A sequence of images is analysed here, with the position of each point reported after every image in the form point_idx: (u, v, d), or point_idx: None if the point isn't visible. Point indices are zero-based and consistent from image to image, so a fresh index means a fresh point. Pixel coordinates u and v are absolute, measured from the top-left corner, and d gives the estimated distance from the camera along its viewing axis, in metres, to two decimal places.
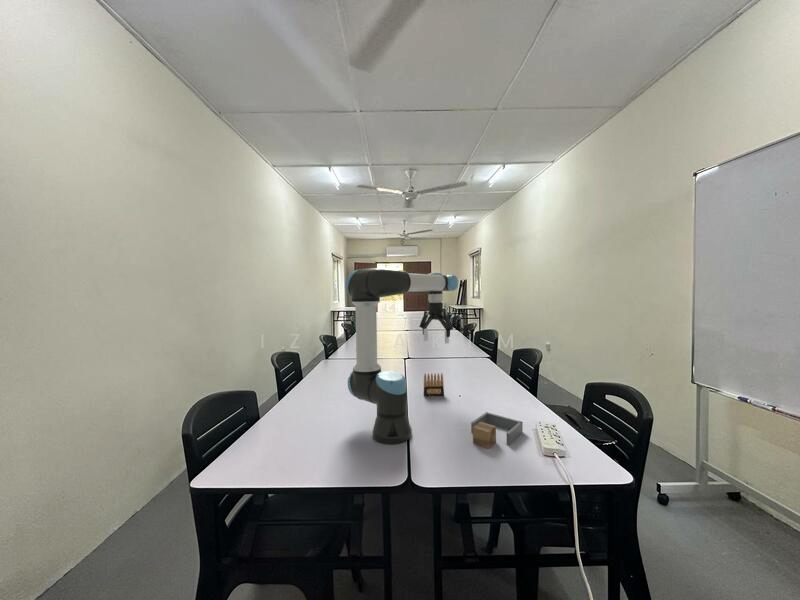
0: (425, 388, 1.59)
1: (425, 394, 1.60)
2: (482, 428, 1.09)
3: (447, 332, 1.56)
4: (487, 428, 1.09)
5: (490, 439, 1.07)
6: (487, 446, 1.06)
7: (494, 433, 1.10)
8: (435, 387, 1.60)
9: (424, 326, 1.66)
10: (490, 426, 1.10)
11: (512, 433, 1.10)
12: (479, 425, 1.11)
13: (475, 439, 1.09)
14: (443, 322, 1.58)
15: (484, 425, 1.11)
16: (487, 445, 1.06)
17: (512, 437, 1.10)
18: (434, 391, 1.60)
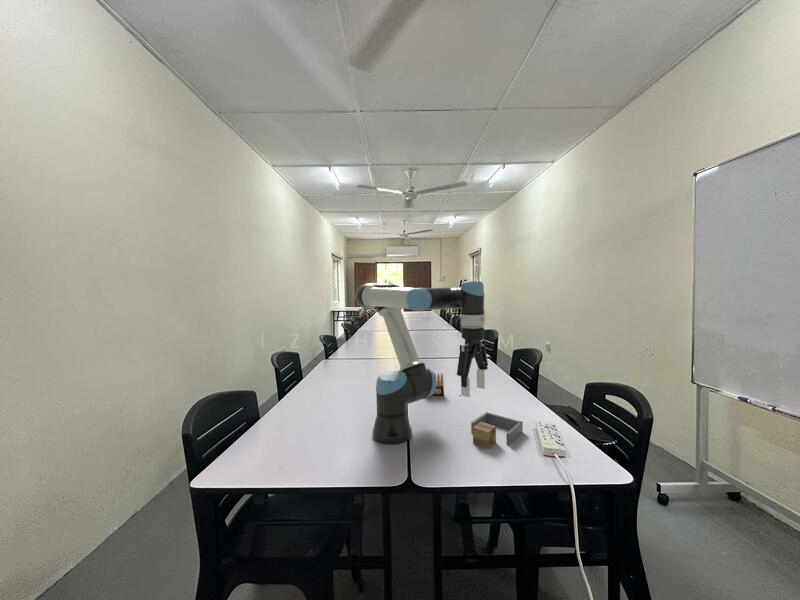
0: None
1: None
2: (482, 428, 1.09)
3: None
4: (487, 428, 1.09)
5: (490, 439, 1.07)
6: (487, 446, 1.06)
7: (494, 433, 1.10)
8: None
9: None
10: (490, 426, 1.10)
11: (512, 433, 1.10)
12: (479, 425, 1.11)
13: (475, 439, 1.09)
14: None
15: (484, 425, 1.11)
16: (487, 445, 1.06)
17: (512, 437, 1.10)
18: None
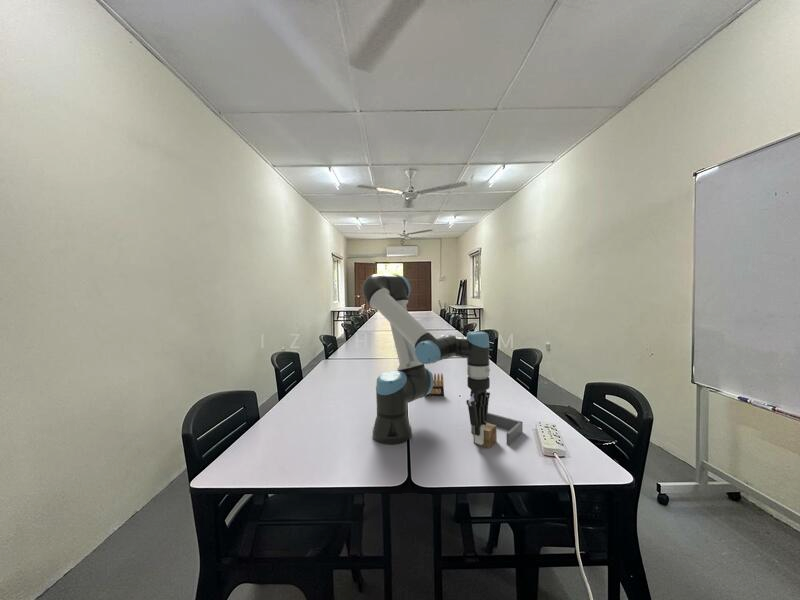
0: None
1: None
2: None
3: None
4: (487, 427, 1.09)
5: (491, 438, 1.07)
6: (488, 445, 1.07)
7: (495, 432, 1.10)
8: (435, 387, 1.60)
9: None
10: (491, 425, 1.11)
11: (512, 433, 1.10)
12: None
13: None
14: None
15: (485, 425, 1.11)
16: (488, 444, 1.07)
17: (512, 437, 1.10)
18: (434, 391, 1.60)
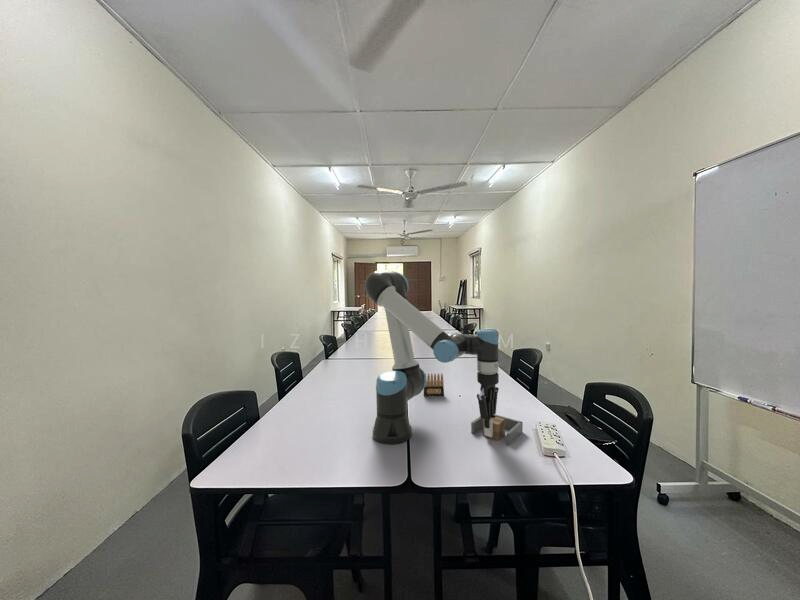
0: (425, 388, 1.59)
1: (425, 394, 1.60)
2: None
3: None
4: (496, 421, 1.14)
5: (499, 431, 1.13)
6: (497, 438, 1.12)
7: (503, 426, 1.15)
8: (435, 387, 1.60)
9: None
10: (499, 419, 1.16)
11: (512, 433, 1.10)
12: None
13: None
14: None
15: (494, 418, 1.16)
16: (497, 437, 1.12)
17: (512, 437, 1.10)
18: (434, 391, 1.60)
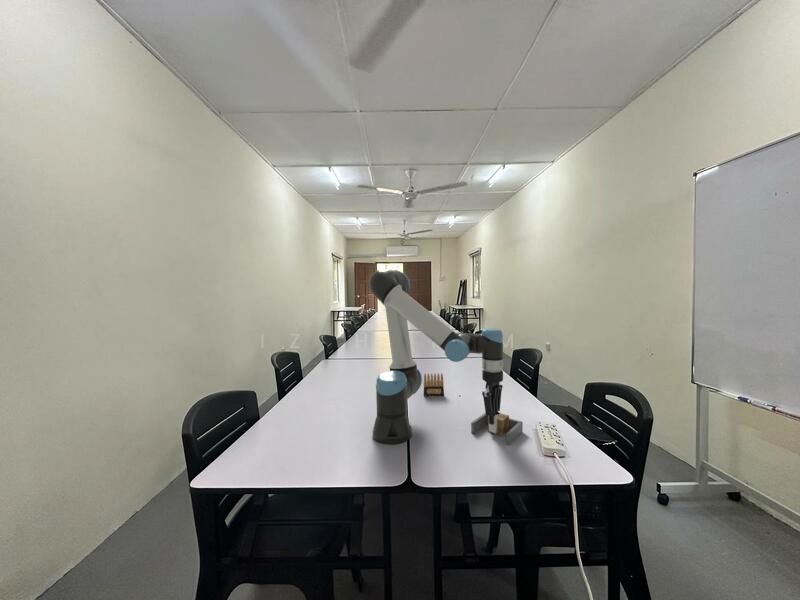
0: (425, 388, 1.59)
1: (425, 394, 1.60)
2: None
3: None
4: (501, 417, 1.18)
5: (504, 427, 1.16)
6: (501, 433, 1.15)
7: (507, 422, 1.19)
8: (435, 387, 1.60)
9: None
10: (504, 415, 1.19)
11: (512, 433, 1.10)
12: None
13: None
14: None
15: (498, 415, 1.20)
16: (501, 432, 1.15)
17: (512, 437, 1.10)
18: (434, 391, 1.60)
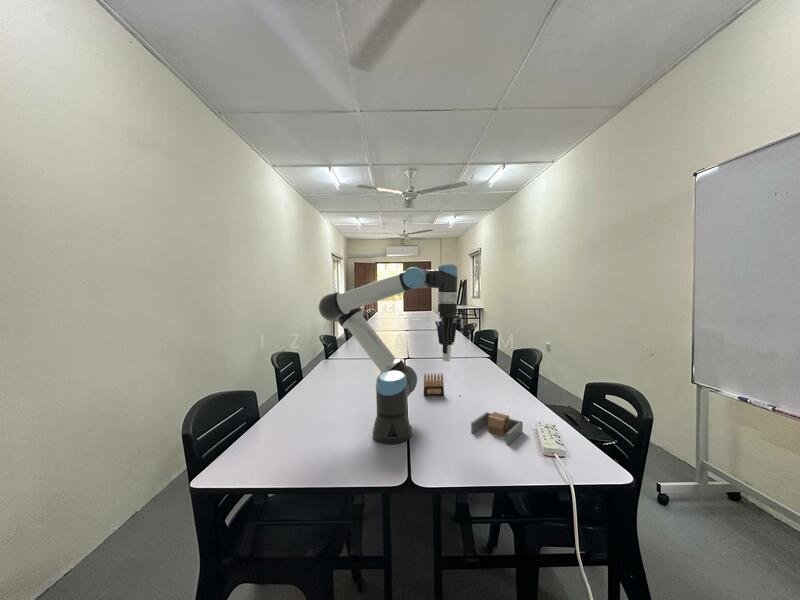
0: (425, 388, 1.59)
1: (425, 394, 1.60)
2: (496, 417, 1.18)
3: None
4: (501, 417, 1.18)
5: (504, 427, 1.16)
6: (501, 433, 1.15)
7: (507, 422, 1.19)
8: (435, 387, 1.60)
9: None
10: (504, 415, 1.19)
11: (512, 433, 1.10)
12: (493, 415, 1.20)
13: (490, 427, 1.18)
14: None
15: (499, 415, 1.20)
16: (501, 433, 1.15)
17: (512, 437, 1.10)
18: (434, 391, 1.60)
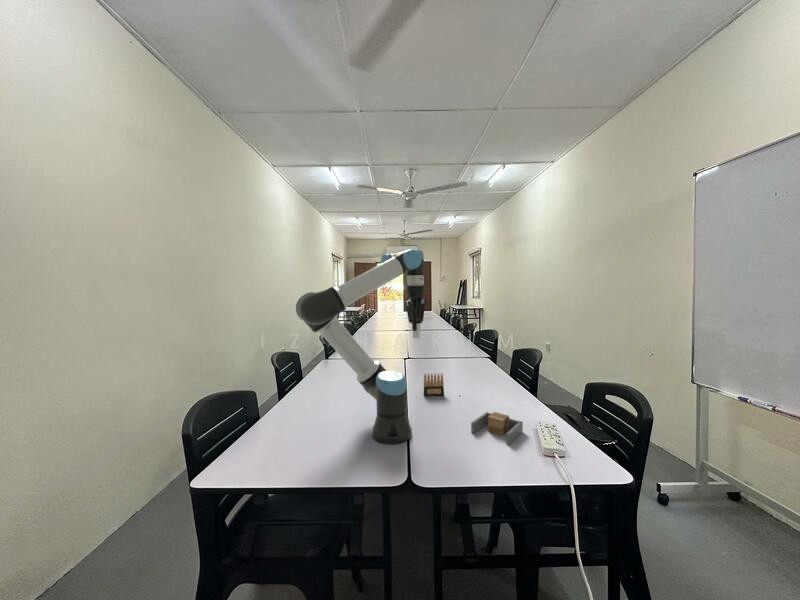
0: (425, 388, 1.59)
1: (425, 394, 1.60)
2: (496, 417, 1.18)
3: None
4: (501, 417, 1.18)
5: (504, 427, 1.16)
6: (501, 433, 1.15)
7: (507, 422, 1.19)
8: (435, 387, 1.60)
9: None
10: (504, 415, 1.19)
11: (512, 433, 1.10)
12: (493, 415, 1.20)
13: (490, 427, 1.18)
14: None
15: (498, 415, 1.20)
16: (501, 433, 1.15)
17: (512, 437, 1.10)
18: (434, 391, 1.60)
